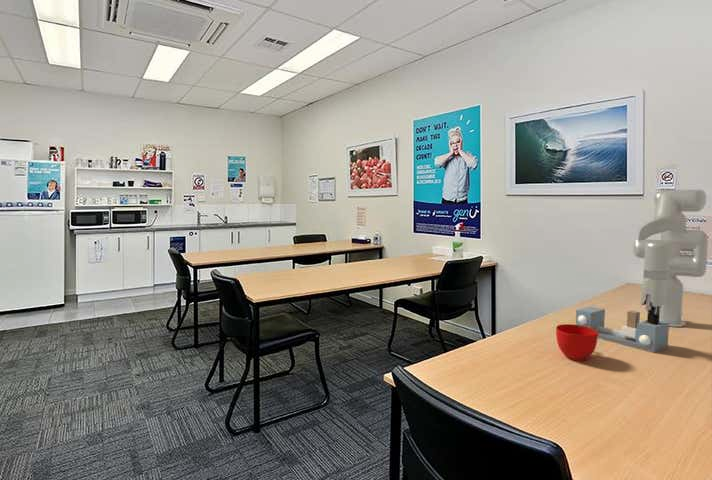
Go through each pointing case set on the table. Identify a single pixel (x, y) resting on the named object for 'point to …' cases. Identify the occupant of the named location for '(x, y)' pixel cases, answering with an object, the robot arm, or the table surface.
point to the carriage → (631, 325)
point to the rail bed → (646, 336)
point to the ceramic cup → (576, 341)
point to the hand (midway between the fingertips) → (653, 323)
